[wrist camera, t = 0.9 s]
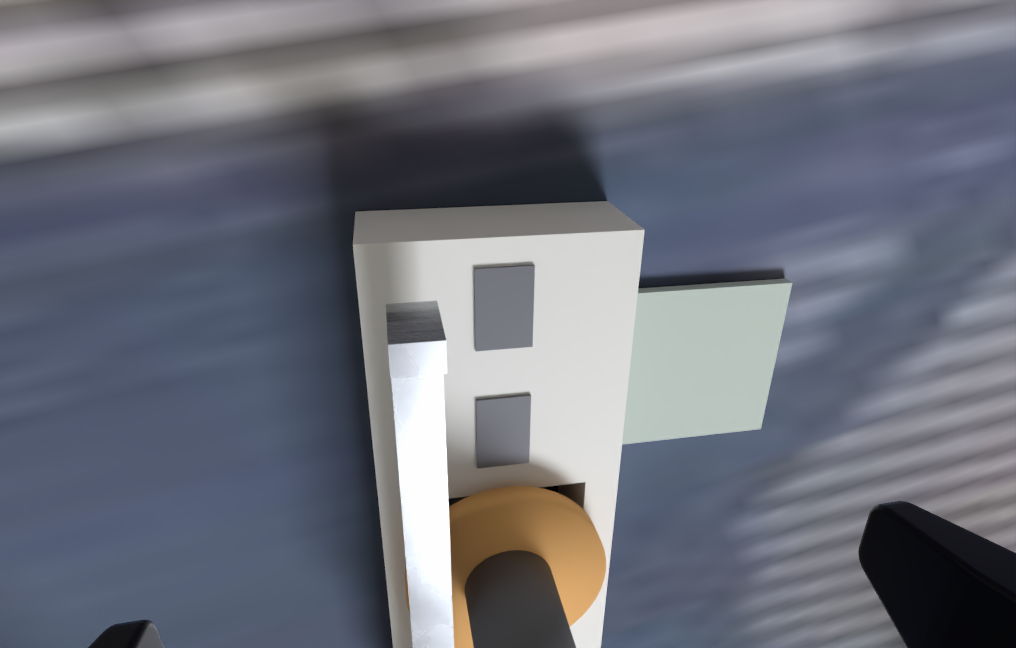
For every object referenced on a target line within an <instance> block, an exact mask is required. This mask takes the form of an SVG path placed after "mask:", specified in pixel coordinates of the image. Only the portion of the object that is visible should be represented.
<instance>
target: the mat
mask: <svg viewBox="0 0 1016 648" xmlns="http://www.w3.org/2000/svg"><path fill="white" fill-rule="evenodd" d="M791 287H792V282H790V281H789V280H787V279H771V280H756V281H742V282H727V283H712V284H697V285H682V286H667V287H652V288H638V296H637V306H636V315H635V325H634V334H633V344H632V354H631V363H630V373H629V382H628V392H627V401H626V411H625V420H624V430H623V439H622V444H630V443H639V442H648V441H657V440H666V439H675V438H684V437H693V436H702V435H711V434H720V433H729V432H738V431H747V430H756V429H761V426H762V421H763V416H764V412H765V407H766V402H767V398H768V393H769V389H770V384H771V379H772V375H773V370H774V365H775V361H776V356H777V352H778V347H779V342H780V338H781V333H782V328H783V324H784V319H785V315H786V310H787V305H788V301H789V296H790V292H791Z"/></svg>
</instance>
